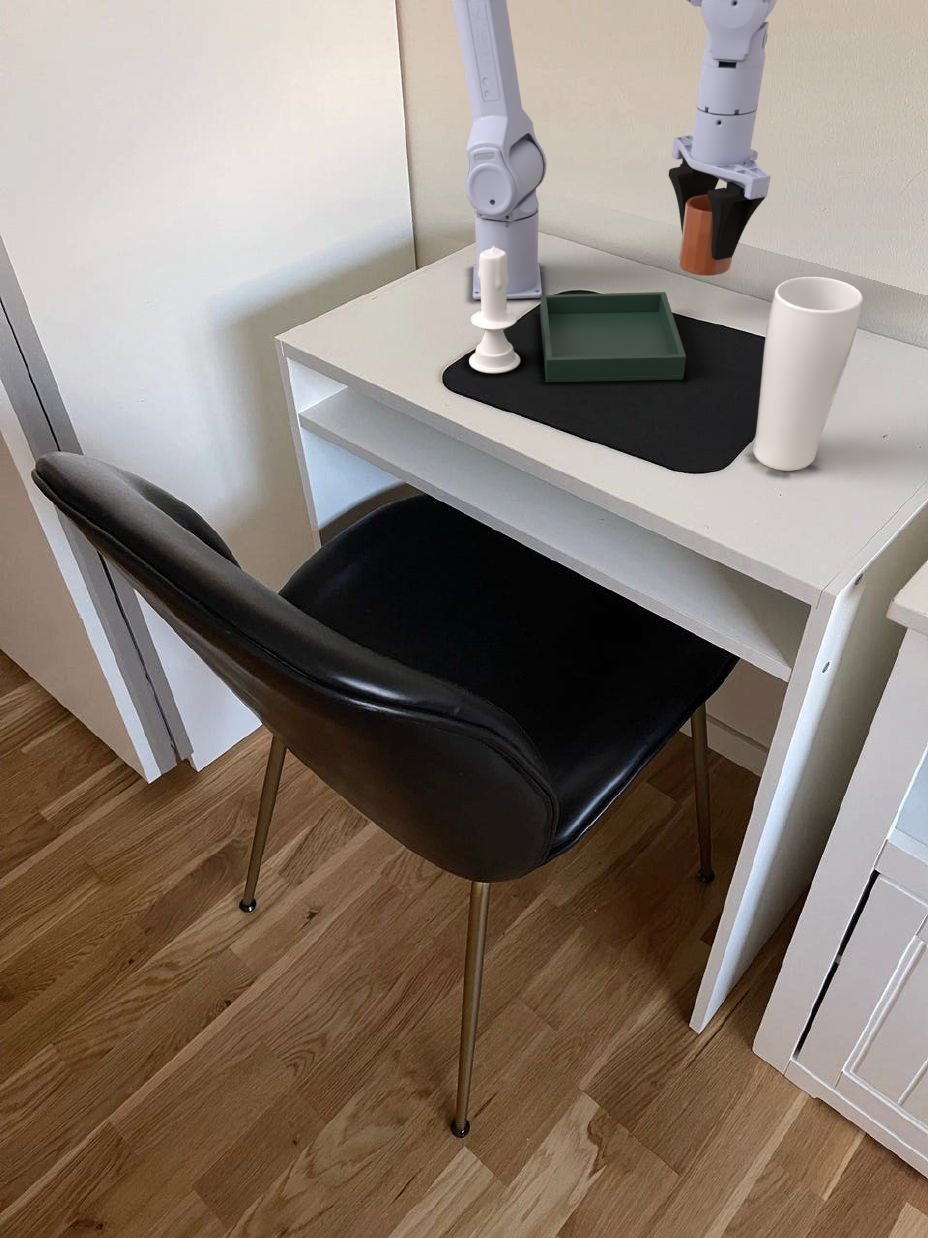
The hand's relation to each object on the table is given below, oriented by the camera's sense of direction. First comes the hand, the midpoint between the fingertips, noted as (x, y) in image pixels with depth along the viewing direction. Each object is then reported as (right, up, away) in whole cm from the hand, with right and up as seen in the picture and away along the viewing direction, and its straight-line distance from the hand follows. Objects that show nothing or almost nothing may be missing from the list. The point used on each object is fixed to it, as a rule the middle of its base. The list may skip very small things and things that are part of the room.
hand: (707, 247), depth 102 cm
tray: (-11, -11, 0) cm, 15 cm away
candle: (-23, -13, -2) cm, 26 cm away
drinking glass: (+2, -25, -17) cm, 30 cm away
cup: (0, -1, +1) cm, 2 cm away
